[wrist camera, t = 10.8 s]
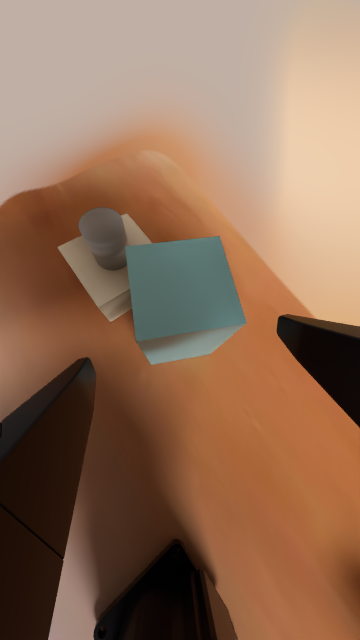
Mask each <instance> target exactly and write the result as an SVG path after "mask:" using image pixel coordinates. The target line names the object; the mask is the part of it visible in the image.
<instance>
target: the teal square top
mask: <svg viewBox="0 0 360 640" xmlns="http://www.w3.org/2000/svg"><path fill="white" fill-rule="evenodd" d="M125 250H126V258H127V267H128V276H129V285H130V293H131V302H132V311H133V320H134V328H135V337H136V342H137V344H138V345H139V347H140V348H141V350H142V351H143V353H144V354H145V356H146V357H147V359H148V360H149V362H150V363H151V365H153V364H159V363H164V362H170V361H175V360H181V359H186V358H192V357H198V356H203V355H209V354H211V353H212V352H213V351H214V350H216V349H217V348H218V347H219V346H220V345H221V344H223V343H224V342H225V341H226V340H227V339H229V338H230V337H231V336H232V335H233V334H234V333H236V332H237V331H238V330H239V329H240V328H242V327H243V326H244V325H245V324H246V319H245V316H244V313H243V310H242V307H241V303H240V300H239V297H238V294H237V291H236V287H235V284H234V281H233V278H232V275H231V271H230V268H229V265H228V262H227V258H226V255H225V252H224V249H223V246H222V242H221V239H220V236H216V237H207V238H198V239H189V240H179V241H170V242H161V243H152V244H142V245H133V246H125Z"/></svg>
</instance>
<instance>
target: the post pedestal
mask: <svg viewBox="0 0 360 640" xmlns="http://www.w3.org/2000/svg"><path fill="white" fill-rule="evenodd" d="M79 230H80V232H81V234H82V235H81V236H79V237H77V238H75V239H73V240H71V241H69V242H67V243H65V244H63V245H61V246H59V247H57V248H58V249H59V251H60V252H61V254H62V255H63V257H64V258H65V260H66V261H67V263H68V264H69V265H70V267H71V268H72V270H73V271H74V273H75V274H76V276H77V277H78V279H79V280H80V282H81V283H82V285H83V286H84V288H85V289H86V291H87V292H88V294H89V295H90V296H91V298H92V299H93V301H94V302H95V304H96V305H97V307H98V308H99V309H100V311H101V312H102V313H103V314H104V315H105V316H106V318H107V319H108V320H109V321H110V322H112V321H113V320H115V319H116V318H118V317H120V316H121V315H123V314H124V313H126V312H127V311H129V310H131V309H132V302H131V293H130V285H129V276H128V267H127V258H126V250H125V246H133V245H142V244H152V242H151V241H150V240H149V239H148V237H147V236H146V235H145V234H144V233H143V231H142V230H141V229H140V228H139V227H138V226H137V224H136V223H135V222H134V221H133V220H132V219H131V217H130V216H129V215H128V214H127V213H126V214H124V215H122V216H120V214H119V213H118V212H116V211H115V210H113V209H110V208H105V207H99V208H94V209H91V210H89V211H87V212H86V213H85V214H83V216H82V217H81V218H80V220H79Z"/></svg>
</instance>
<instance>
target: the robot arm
mask: <svg viewBox="0 0 360 640" xmlns="http://www.w3.org/2000/svg"><path fill="white" fill-rule="evenodd" d="M277 334H278V336H279V338H280V339H281V340H282V341H283V343H284V344H285V345H286V347H287V348H288V349H289V351H290V352H291V353H292V355H293V356H294V357H295V358H296V360H297V361H298V362H299V363H300V364H301V365H302V366H303V367H304V368H305V369H306V371H307V372H308V373H309V374H310V375H311V376H312V377H313V378H314V379H315V380H316V381H317V382H318V383H319V385H320V386H321V387H322V388H323V389H324V390H325V391H326V392H327V393H328V394H329V395H330V396H331V397H332V398H333V400H334V401H335V402H336V403H337V404H338V405H339V406H340V407H341V408H342V409H343V410H344V411H345V412H346V414H347V415H348V416H349V417H350V418H351V419H352V420H353V421H354V422H355V423H356V424H357V425H358V426H359V428H360V327H359V326H353V325H347V324H342V323H335V322H330V321H324V320H318V319H313V318H307V317H301V316H295V315H289V314H286V315H281V316H279V318H278V323H277ZM95 386H96V372H95V370H94V367H93V365H92V362H91V360H90V359H89V358H88V357H86V358H81V359H78V360H77V361H76V362H74V363H73V364H72V365H71V366H69V367H68V368H67V369H66V370H64V371H63V372H62V373H61V374H59V375H58V376H57V377H56V378H54V379H53V380H52V381H51V382H49V383H48V384H47V385H46V386H44V387H43V388H42V389H41V390H39V391H38V392H37V393H36V394H35V395H33V396H32V397H31V398H30V399H28V400H27V401H26V402H25V403H23V404H22V405H21V406H20V407H18V408H17V409H16V410H15V411H13V412H12V413H11V414H10V415H8V416H7V417H6V418H5V419H3V420H2V423H1V422H0V640H48V637H49V632H50V627H51V622H52V617H53V612H54V607H55V602H56V597H57V592H58V587H59V581H60V576H61V571H62V566H63V559H64V555H65V550H66V545H67V540H68V535H69V530H70V525H71V520H72V515H73V510H74V505H75V500H76V495H77V490H78V485H79V480H80V475H81V470H82V465H83V460H84V455H85V450H86V445H87V440H88V435H89V430H90V425H91V420H92V415H93V409H94V399H95ZM176 548H177V549H179V550H180V551H179V553H178V554H175V553H174V552H173V551H174V549H176ZM102 626H104V627H105V628H106V630H105V631H102V630H101V629H100V627H102ZM94 640H238V638H237V635H236V633H235V631H234V630H233V626H232V623H231V619H230V615H229V612H228V609H227V607H226V605H225V604H224V602H223V600H222V599H221V597H220V595H219V594H218V592H217V590H216V589H215V587H214V585H213V584H212V582H211V580H210V579H209V577H208V575H207V574H206V572H205V570H204V569H202V568H198V569H197V567H196V565H195V564H194V562H193V560H192V558H191V557H190V555H189V553H188V552H187V550H186V548H185V547H184V545H183V543H182V542H181V541H180V540H178V539H175V540H173V541H172V542H171V543H170V544H169V545H168V546H167V547H166V548H165V549H164V550H163V551H162V552H161V553H160V554H159V555H158V556H157V557H156V558H155V559H154V560H153V562H152V563H151V564H150V565H149V566H148V567H147V568H146V569H145V570H144V571H143V572H142V573H141V574H140V575H139V576H138V577H137V578H136V579H135V580H134V581H133V582H132V583H131V584H130V585H129V586H128V587H127V588H126V589H125V591H124V592H123V593H122V594H121V595H120V596H119V597H118V598H117V599H116V600H115V601H114V602H113V603H112V604H111V605H110V606H109V607H108V608H107V609H106V610H105V611H104V612H103V613H102V614H101V615H100V617H99V618H98V620H97V623H96V626H95V629H94Z"/></svg>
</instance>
